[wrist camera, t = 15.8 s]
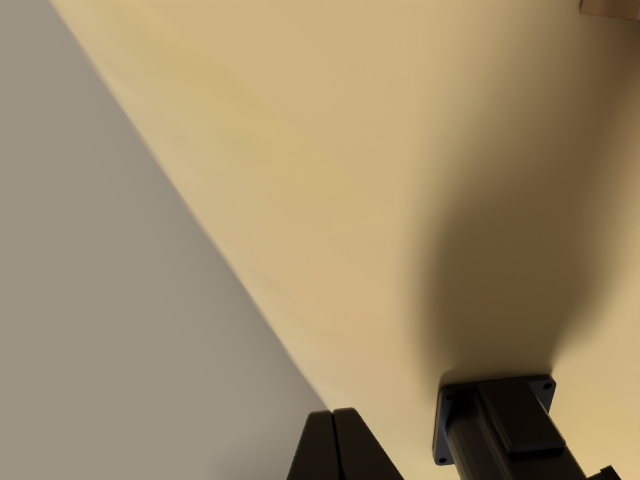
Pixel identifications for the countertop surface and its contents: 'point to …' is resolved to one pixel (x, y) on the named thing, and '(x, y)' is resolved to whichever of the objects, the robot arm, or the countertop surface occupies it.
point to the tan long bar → (612, 8)
